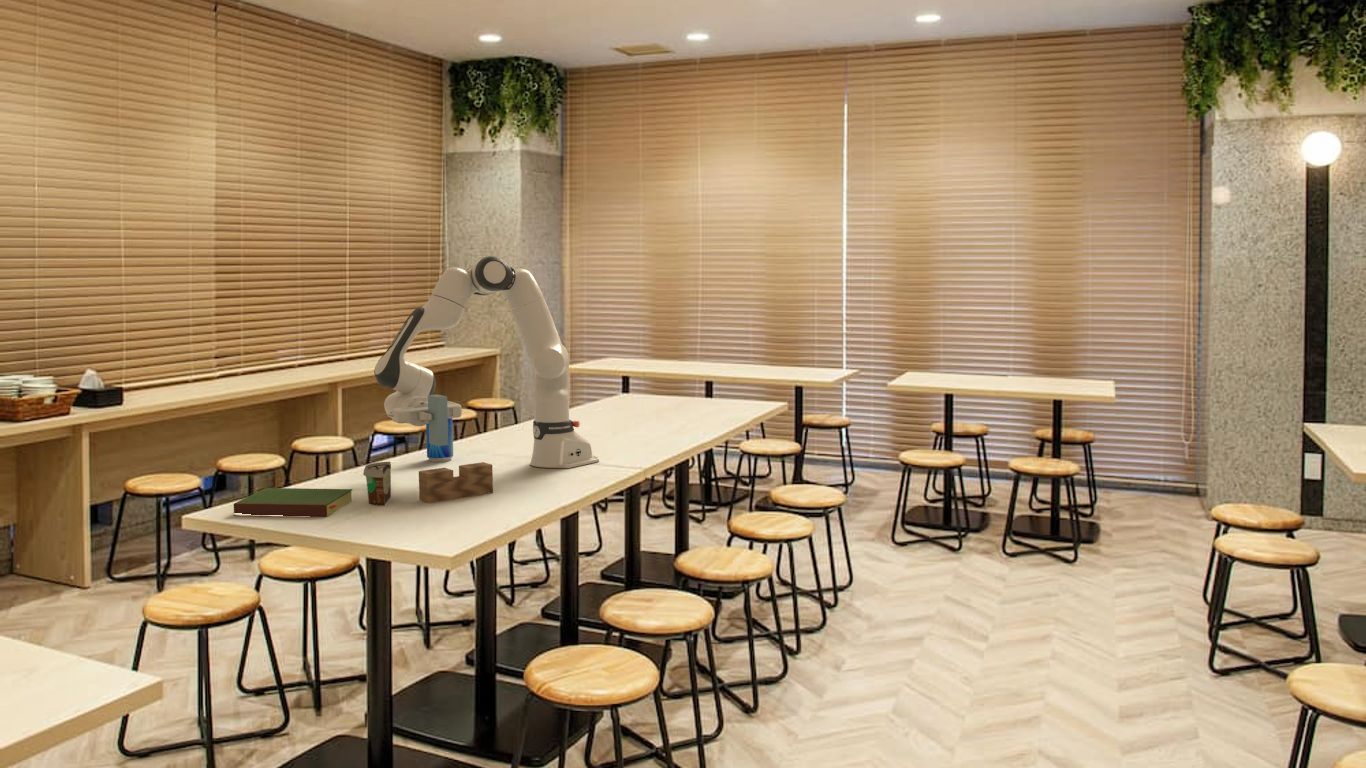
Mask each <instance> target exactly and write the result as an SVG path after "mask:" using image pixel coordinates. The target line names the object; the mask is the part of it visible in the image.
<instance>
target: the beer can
mask: <svg viewBox="0 0 1366 768" xmlns="http://www.w3.org/2000/svg"><path fill="white" fill-rule="evenodd" d="M425 429H426V432H425V433H426V435H425V437H426V458H427V459H428V461H430V462H433V463H441V462H442V463H445V462H450V461H452V459H453V457H454V432H453V418H448V445H445V446H437V445H433V444H430V443H429V424H426V425H425Z"/></svg>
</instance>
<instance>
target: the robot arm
mask: <svg viewBox="0 0 1366 768" xmlns="http://www.w3.org/2000/svg"><path fill="white" fill-rule="evenodd" d="M497 292H498V293H500V294H502V296H504V297H505V299H506V300H507V303H508V305H509V308H510V310H511V311H510V312H512V316H513V318H514V321H515V323H516V325H517V327H518V330H519V333H520V335H521V338H522V341H523V345H524V347H525V349H526V353H527V355H528V359H529V360H530V363H531V365H532V368H533V370H534V385H533V386H534V388H533V389H534V391H533V393H534V394H533V405H534V407H533V408H534V409H533V410H534V415H533V416H534V420H533V422H532V423H533V424H532V433H533V447H532V448H533V449H532V454H531V459H530V463H529V465H531V466H533V467H536V468H550V469H551V468H556V469H557V468H558V469H571V468H575V467H579V466H584V465H588V464H589V465H590V464H594V463H598V462H600V458H599V457H598V456H596V455H593V451H592V446H591V443H590V441H588V440H587V439H586V438H584V437H583V436H582V435H580V434H579V433H578V432H576V431H575V429H574V427H576V428H579V427H580V426H581V422H580V421H579V420H571V419H570V355H569V352H568V349H567V348H566V347H565V346H564V345H563V343H562V340H561V338H560V334H559V333H558V329H557V327H556V324H555V321H554V319H553V315H552V314H551V312H550V309H549V307H548V304H547V302H546V300H545V297H544V294H543V292H542V290H541V287H540V286H539V284H538V282H537V281H536V279H535V277H534V276H533V274H532V273H531V271H529V270H527V269H525V268H517V269H516V268H515V269H514V267H512V266H511V265H509V264H508V263H507V262H506V261H505V260H503V259H502V258H501V257H498V256H494V255H490V256H488V255H487V256H485V257H483V258H480V259H479V260H476V261H475V263H473V265H470V267H469V268H467V269H463V268H461V267H448V268H446V269H445V270H444V271H443V272H442V275H441V276H440V277H439V279H438V280H437V283H435V286H434V288H433V290H432V292H431V295H430V297H429V299H428V300H427V302H426V303H425V304H424V305H423V306H422V307H416V308H415V309H414V310H412V311H411V313H410V314H409V315H408V316H407V318H406V320H405V321H404V322H403V325H402V326H401V327H400V329H399V331H398V333H397V334H396V335H395V337H394V339H393V340H392V342H391V344H390V345H389V347H388V349H387V350H386V351H385V352H384V353H383V355H382V356H381V357H380V359H379V360H378V361H377V363H376V364H375V366H374V370H373V373H374V377H375V380H376V381H377V383H378V385H379V386H380V387H384V388H386V389H390V390H393V391H395V392H393V393H391V394H389V395H387V397H386V398H385V400H384V402H383V408H384V411H385V413H386V416H387V417H389V418H391V419H392V421H393V422H394V423H397V424H407V425H411V426H413V427H424V426H426V424H429V420H434V419H435V417H434V416H435V415H434V413H428V395H435V391H436V386H437V384H436V383H437V381H436V376H435V374H434V372H433V371H432V370H431V369H429V368H427V367H425V366H422V365H420V364H417V363H414V362H412V361H411V360H408V359H406V358H405V357H404V356H405V354H406V353H407V351H408V350H409V348H410V347H411V345H412V343H413V341H414V340H415V339H416V336H417V335H418V334H419V333H421V332H423V331H426V330H427V331H428V330H429V331H430V330H433V331H446V330H450V329H453V328H454V327H456V326H457V325H458V324H459V323H460V322H461V320H462V319H463V315H464V314H465V311H466V309H467V306H468V303H469V301H470V299H471V297H472V296H473V295H479V296H489V295H492V294H495V293H497ZM462 407H463V406H462V405H461V404H460V403H457V402H454V401H451V400H450V401H449V400H447V409H448V418H452V419H455V418H461V417H462V415H463V410H462V409H463V408H462Z"/></svg>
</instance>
